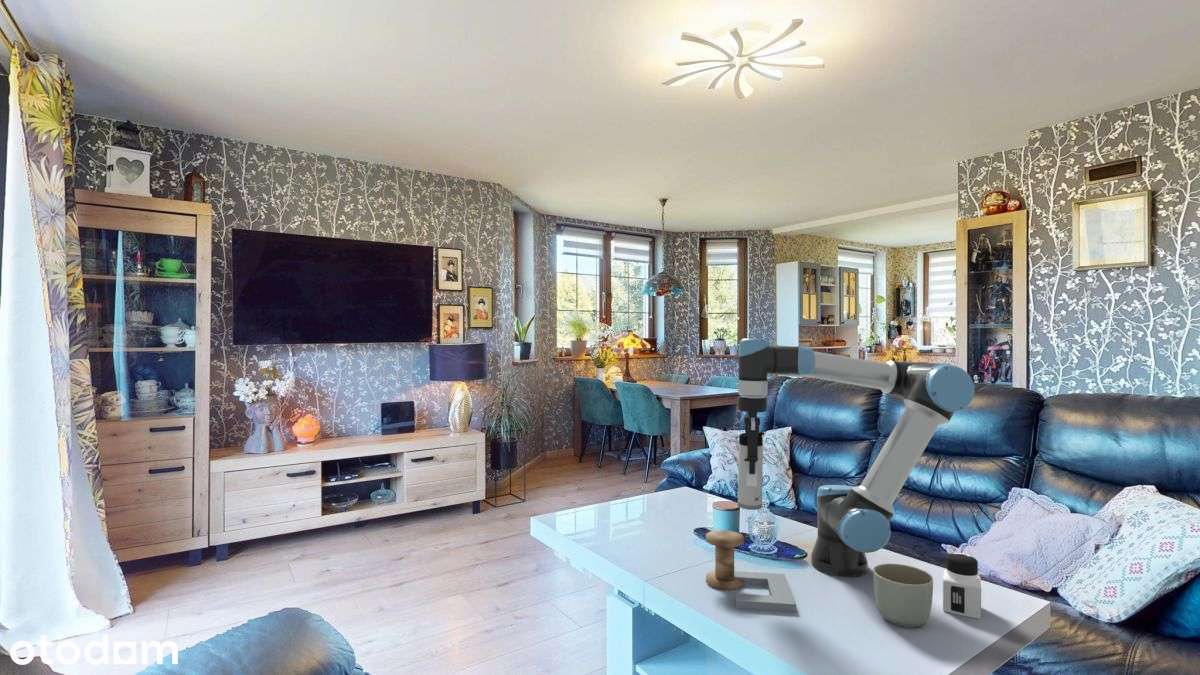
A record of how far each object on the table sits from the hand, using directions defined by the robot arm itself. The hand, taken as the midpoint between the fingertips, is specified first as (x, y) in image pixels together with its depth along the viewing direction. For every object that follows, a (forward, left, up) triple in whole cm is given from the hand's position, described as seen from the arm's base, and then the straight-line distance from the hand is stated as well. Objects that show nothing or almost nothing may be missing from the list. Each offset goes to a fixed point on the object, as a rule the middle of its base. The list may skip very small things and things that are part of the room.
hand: (751, 482), depth 156 cm
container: (-49, +6, -28) cm, 57 cm away
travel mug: (0, 0, -7) cm, 7 cm away
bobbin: (+7, -1, -27) cm, 28 cm away
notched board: (-2, +5, -27) cm, 28 cm away
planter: (-33, +14, -28) cm, 45 cm away
